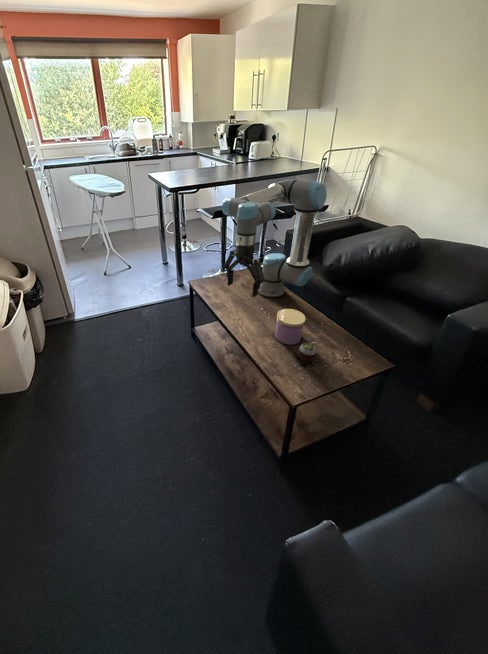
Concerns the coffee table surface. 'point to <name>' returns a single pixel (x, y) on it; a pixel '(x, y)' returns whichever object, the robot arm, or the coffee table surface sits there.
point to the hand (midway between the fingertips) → (242, 289)
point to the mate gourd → (307, 353)
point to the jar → (289, 326)
